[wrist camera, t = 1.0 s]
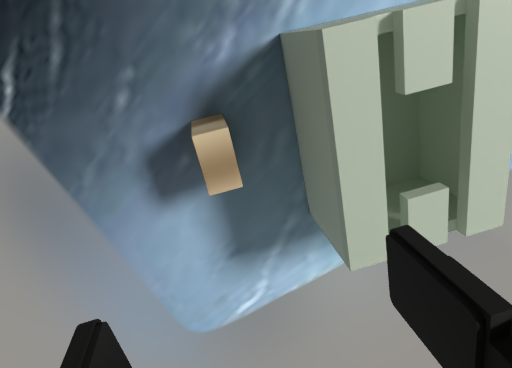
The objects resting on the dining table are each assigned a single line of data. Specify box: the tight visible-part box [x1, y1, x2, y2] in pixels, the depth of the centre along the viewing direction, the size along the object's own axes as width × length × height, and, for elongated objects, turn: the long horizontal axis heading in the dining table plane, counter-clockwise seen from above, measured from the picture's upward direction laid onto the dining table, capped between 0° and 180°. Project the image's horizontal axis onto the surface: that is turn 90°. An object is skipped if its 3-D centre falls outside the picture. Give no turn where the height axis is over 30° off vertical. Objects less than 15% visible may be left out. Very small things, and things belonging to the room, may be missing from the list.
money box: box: [280, 0, 512, 271], centre depth 25 cm, size 16×12×9 cm
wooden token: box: [191, 113, 243, 196], centre depth 26 cm, size 4×2×5 cm, turn 13°
